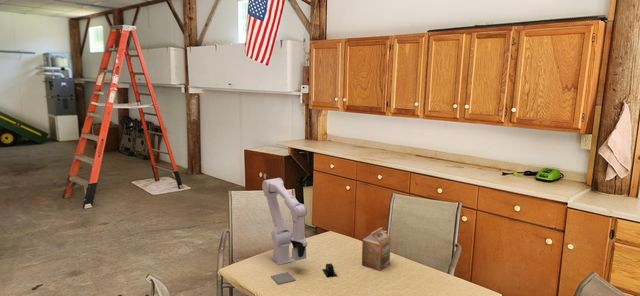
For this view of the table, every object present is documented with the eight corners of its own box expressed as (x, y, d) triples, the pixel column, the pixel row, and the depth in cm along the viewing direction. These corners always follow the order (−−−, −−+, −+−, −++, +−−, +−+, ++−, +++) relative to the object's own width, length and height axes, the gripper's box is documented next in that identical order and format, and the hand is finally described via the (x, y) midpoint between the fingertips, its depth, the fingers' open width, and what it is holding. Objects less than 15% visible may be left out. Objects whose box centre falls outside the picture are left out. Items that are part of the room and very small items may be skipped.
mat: (270, 277, 209) (270, 275, 209) (287, 273, 214) (287, 271, 213) (278, 284, 201) (278, 283, 201) (295, 280, 206) (295, 279, 206)
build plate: (319, 269, 220) (319, 260, 219) (333, 267, 221) (333, 259, 221) (326, 280, 208) (326, 271, 207) (340, 278, 210) (340, 269, 209)
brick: (291, 257, 215) (291, 248, 215) (302, 255, 218) (302, 246, 217) (295, 260, 212) (295, 251, 211) (306, 258, 215) (306, 248, 214)
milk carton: (379, 271, 217) (380, 235, 213) (361, 265, 223) (362, 230, 220) (389, 264, 225) (391, 229, 222) (372, 258, 231) (373, 225, 228)
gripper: (285, 225, 217) (285, 251, 219) (298, 235, 204) (298, 262, 207) (297, 223, 220) (297, 248, 222) (311, 232, 208) (311, 259, 210)
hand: (298, 254), depth 215 cm, fingers closed on brick, 4 cm apart
